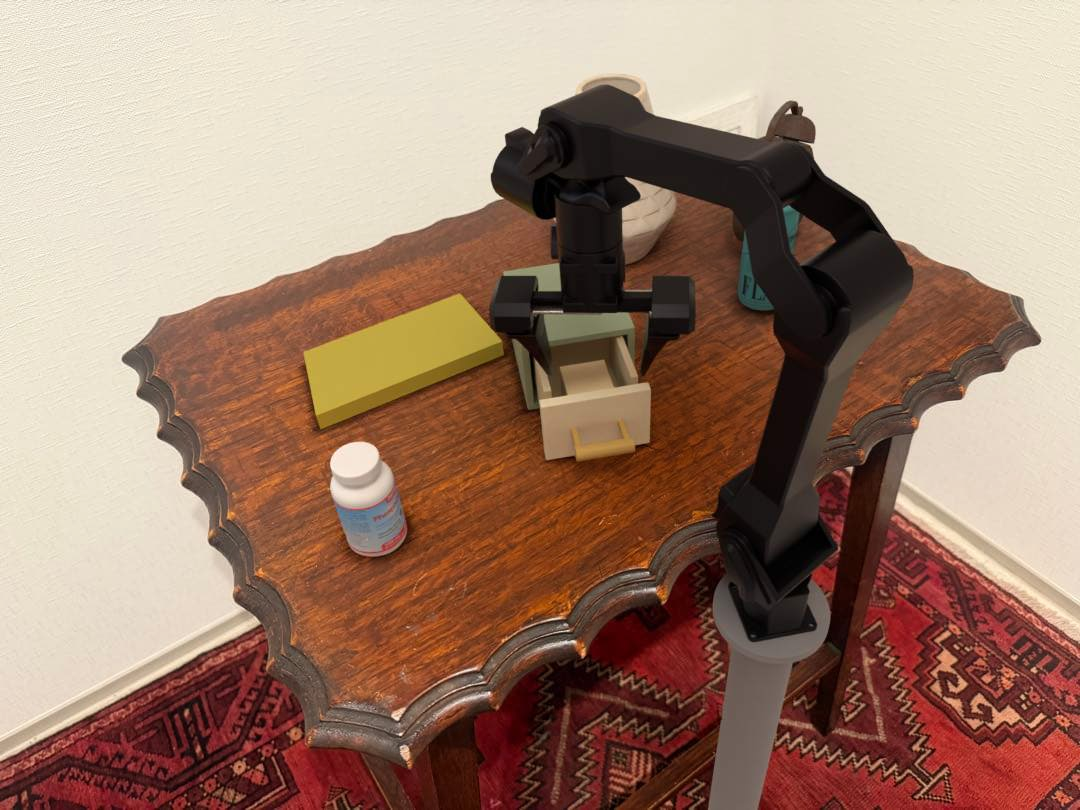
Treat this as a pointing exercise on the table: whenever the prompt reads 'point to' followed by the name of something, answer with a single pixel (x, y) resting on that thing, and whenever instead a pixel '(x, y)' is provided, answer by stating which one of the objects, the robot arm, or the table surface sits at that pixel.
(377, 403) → the flat olive board
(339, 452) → the pill bottle
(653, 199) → the vase
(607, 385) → the block
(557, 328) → the cabinet
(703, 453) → the table surface
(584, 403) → the drawer
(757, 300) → the beverage bottle
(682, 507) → the table surface
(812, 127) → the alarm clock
